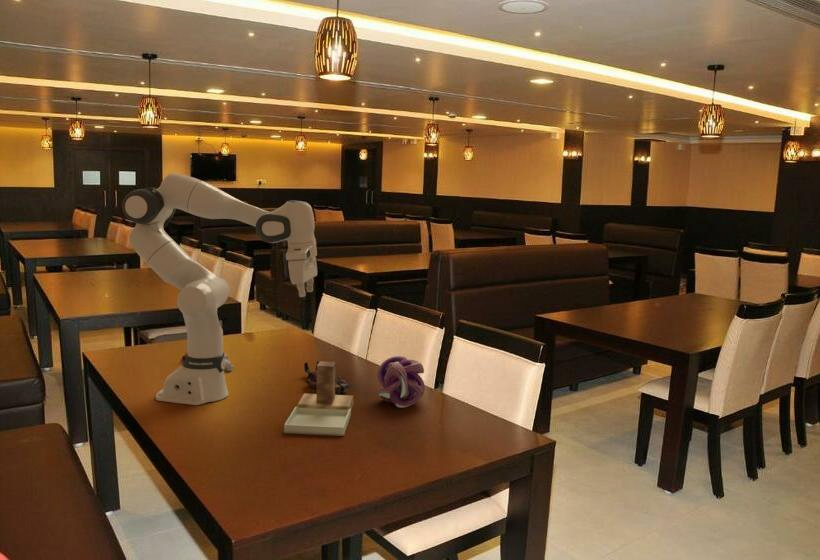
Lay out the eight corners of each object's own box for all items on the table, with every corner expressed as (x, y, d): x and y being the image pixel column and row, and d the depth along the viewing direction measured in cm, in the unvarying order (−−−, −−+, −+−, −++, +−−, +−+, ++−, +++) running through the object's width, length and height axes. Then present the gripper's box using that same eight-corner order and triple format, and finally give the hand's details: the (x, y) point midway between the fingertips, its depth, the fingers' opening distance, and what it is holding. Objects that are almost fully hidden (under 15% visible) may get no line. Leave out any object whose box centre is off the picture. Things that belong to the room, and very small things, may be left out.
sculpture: (425, 418, 198) (433, 379, 215) (412, 377, 191) (421, 340, 208) (379, 422, 202) (390, 384, 219) (364, 382, 195) (378, 345, 212)
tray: (284, 433, 177) (284, 424, 176) (295, 413, 192) (296, 405, 192) (343, 436, 176) (343, 427, 176) (350, 416, 192) (350, 408, 191)
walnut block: (316, 403, 193) (316, 365, 191) (319, 397, 198) (319, 361, 196) (332, 403, 193) (333, 366, 191) (334, 398, 198) (335, 362, 196)
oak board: (297, 413, 192) (297, 404, 192) (304, 402, 202) (304, 393, 202) (349, 415, 192) (349, 406, 191) (353, 404, 202) (353, 395, 201)
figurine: (328, 360, 233) (357, 382, 207) (328, 375, 234) (357, 399, 207) (295, 363, 228) (321, 386, 201) (295, 378, 228) (321, 403, 202)
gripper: (301, 248, 209) (305, 289, 210) (283, 255, 188) (287, 300, 190) (320, 247, 208) (323, 288, 210) (304, 254, 188) (308, 299, 190)
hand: (306, 294), depth 200 cm, fingers open, 8 cm apart
